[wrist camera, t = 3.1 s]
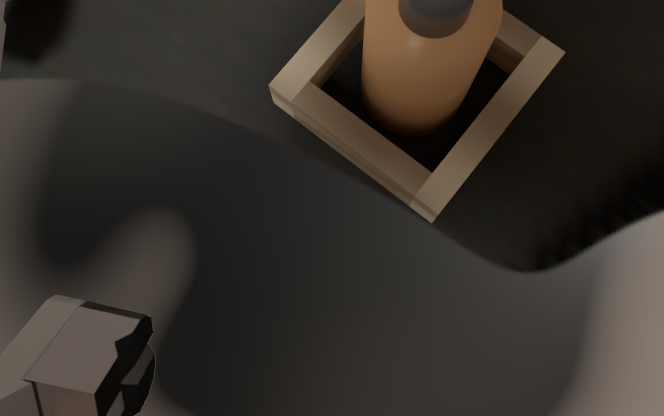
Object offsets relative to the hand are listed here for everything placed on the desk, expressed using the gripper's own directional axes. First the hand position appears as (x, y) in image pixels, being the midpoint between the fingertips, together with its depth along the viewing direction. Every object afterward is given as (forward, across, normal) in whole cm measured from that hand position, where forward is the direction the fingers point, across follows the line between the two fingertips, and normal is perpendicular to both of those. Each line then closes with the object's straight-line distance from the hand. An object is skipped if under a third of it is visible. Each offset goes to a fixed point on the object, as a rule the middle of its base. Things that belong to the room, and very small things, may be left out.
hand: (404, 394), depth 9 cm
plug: (+20, 0, +3) cm, 20 cm away
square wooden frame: (+20, 0, +3) cm, 20 cm away
